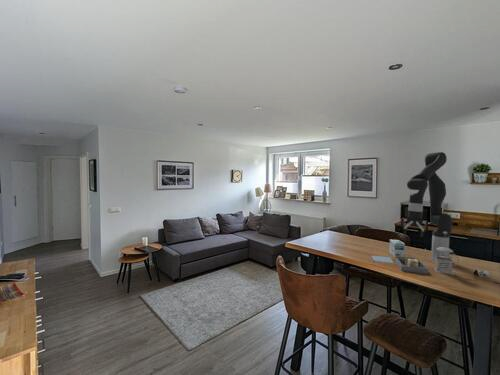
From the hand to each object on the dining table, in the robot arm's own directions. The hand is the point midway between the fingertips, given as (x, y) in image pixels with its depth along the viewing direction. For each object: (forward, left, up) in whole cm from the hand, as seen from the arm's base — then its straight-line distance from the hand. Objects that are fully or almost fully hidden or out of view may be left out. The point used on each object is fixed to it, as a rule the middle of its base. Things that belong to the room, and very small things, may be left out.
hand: (413, 235), depth 150 cm
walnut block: (+1, -1, -20) cm, 20 cm away
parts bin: (+1, +2, -21) cm, 21 cm away
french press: (-17, +1, -21) cm, 27 cm away
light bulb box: (+4, -24, -21) cm, 32 cm away
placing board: (+16, -9, -21) cm, 27 cm away
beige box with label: (+1, +6, -20) cm, 21 cm away
